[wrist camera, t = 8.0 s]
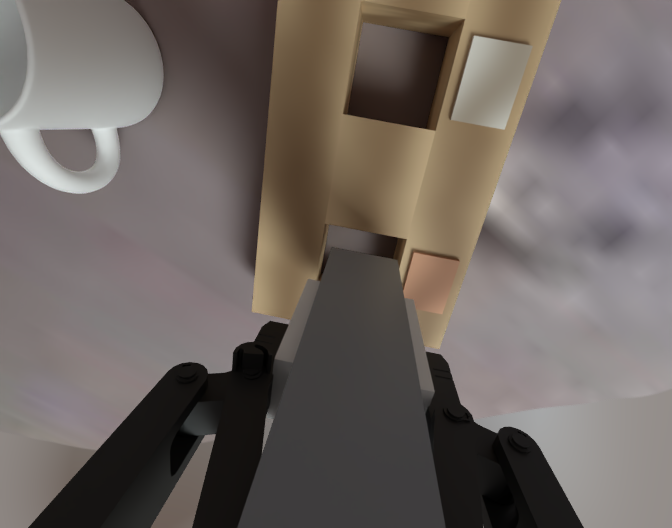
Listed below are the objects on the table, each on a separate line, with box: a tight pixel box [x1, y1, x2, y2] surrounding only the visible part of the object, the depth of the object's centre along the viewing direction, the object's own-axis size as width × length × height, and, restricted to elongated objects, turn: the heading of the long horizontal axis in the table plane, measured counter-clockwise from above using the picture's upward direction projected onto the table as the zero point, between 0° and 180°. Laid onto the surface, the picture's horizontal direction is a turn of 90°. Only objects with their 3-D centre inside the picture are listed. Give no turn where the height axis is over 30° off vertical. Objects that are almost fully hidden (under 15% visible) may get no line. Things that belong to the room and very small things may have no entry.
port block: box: [252, 0, 561, 349], centre depth 23 cm, size 14×22×4 cm, turn 170°
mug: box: [0, 0, 164, 194], centre depth 20 cm, size 12×8×10 cm
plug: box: [237, 247, 446, 528], centre depth 14 cm, size 4×4×16 cm
